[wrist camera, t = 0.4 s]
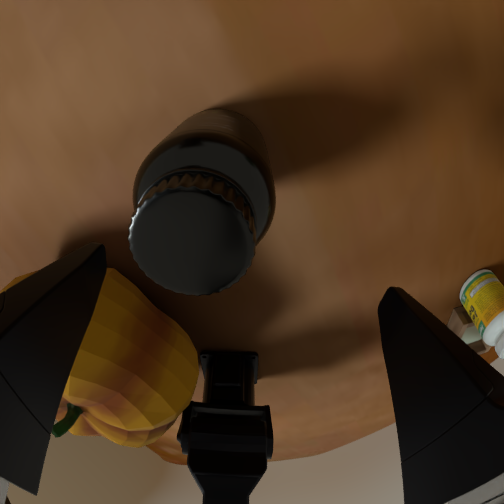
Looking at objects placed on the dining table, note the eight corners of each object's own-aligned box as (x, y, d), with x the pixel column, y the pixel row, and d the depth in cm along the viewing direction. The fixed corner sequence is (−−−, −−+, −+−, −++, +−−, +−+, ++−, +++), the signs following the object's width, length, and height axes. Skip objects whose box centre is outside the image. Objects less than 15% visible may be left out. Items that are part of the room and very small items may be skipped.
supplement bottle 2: (495, 283, 28) (533, 339, 21) (464, 309, 31) (497, 369, 23) (487, 259, 26) (532, 319, 18) (452, 288, 29) (491, 354, 21)
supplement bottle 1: (273, 188, 22) (292, 306, 13) (184, 204, 23) (141, 323, 13) (258, 97, 19) (268, 139, 9) (160, 118, 19) (74, 186, 9)
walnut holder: (480, 337, 35) (488, 351, 32) (435, 351, 35) (442, 367, 33) (501, 295, 30) (511, 309, 27) (453, 308, 30) (463, 325, 28)
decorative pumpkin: (128, 384, 39) (107, 478, 26) (6, 285, 28) (-52, 379, 16) (242, 343, 33) (240, 476, 20) (88, 188, 22) (-24, 323, 10)
